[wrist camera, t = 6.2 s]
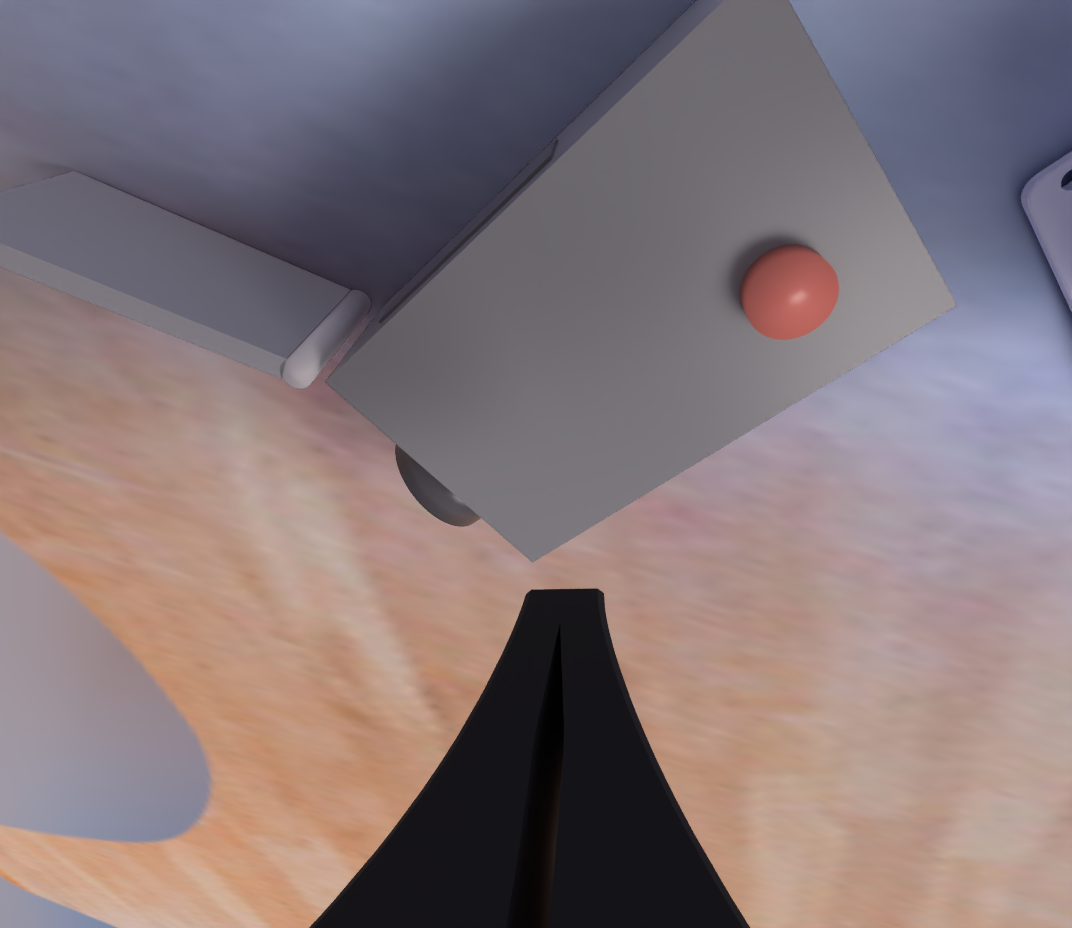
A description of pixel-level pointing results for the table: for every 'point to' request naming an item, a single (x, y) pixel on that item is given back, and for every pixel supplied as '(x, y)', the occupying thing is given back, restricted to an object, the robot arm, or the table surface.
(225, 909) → the table surface
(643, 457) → the camera body
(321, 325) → the side door
